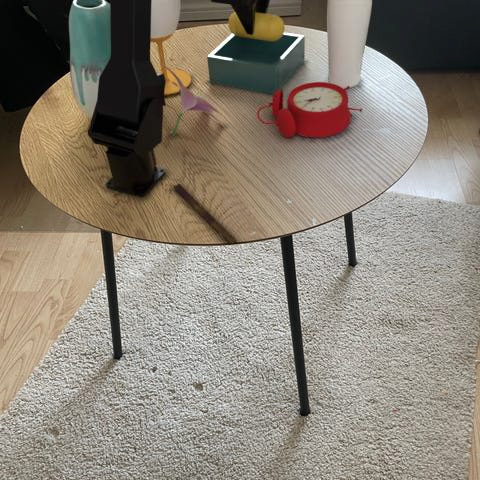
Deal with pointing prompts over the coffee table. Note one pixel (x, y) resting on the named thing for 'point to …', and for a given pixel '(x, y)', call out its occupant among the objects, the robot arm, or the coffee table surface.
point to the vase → (88, 49)
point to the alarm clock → (312, 110)
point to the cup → (162, 28)
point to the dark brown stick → (205, 215)
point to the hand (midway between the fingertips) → (255, 28)
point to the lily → (192, 101)
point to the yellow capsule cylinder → (259, 27)
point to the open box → (256, 62)
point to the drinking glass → (346, 39)
